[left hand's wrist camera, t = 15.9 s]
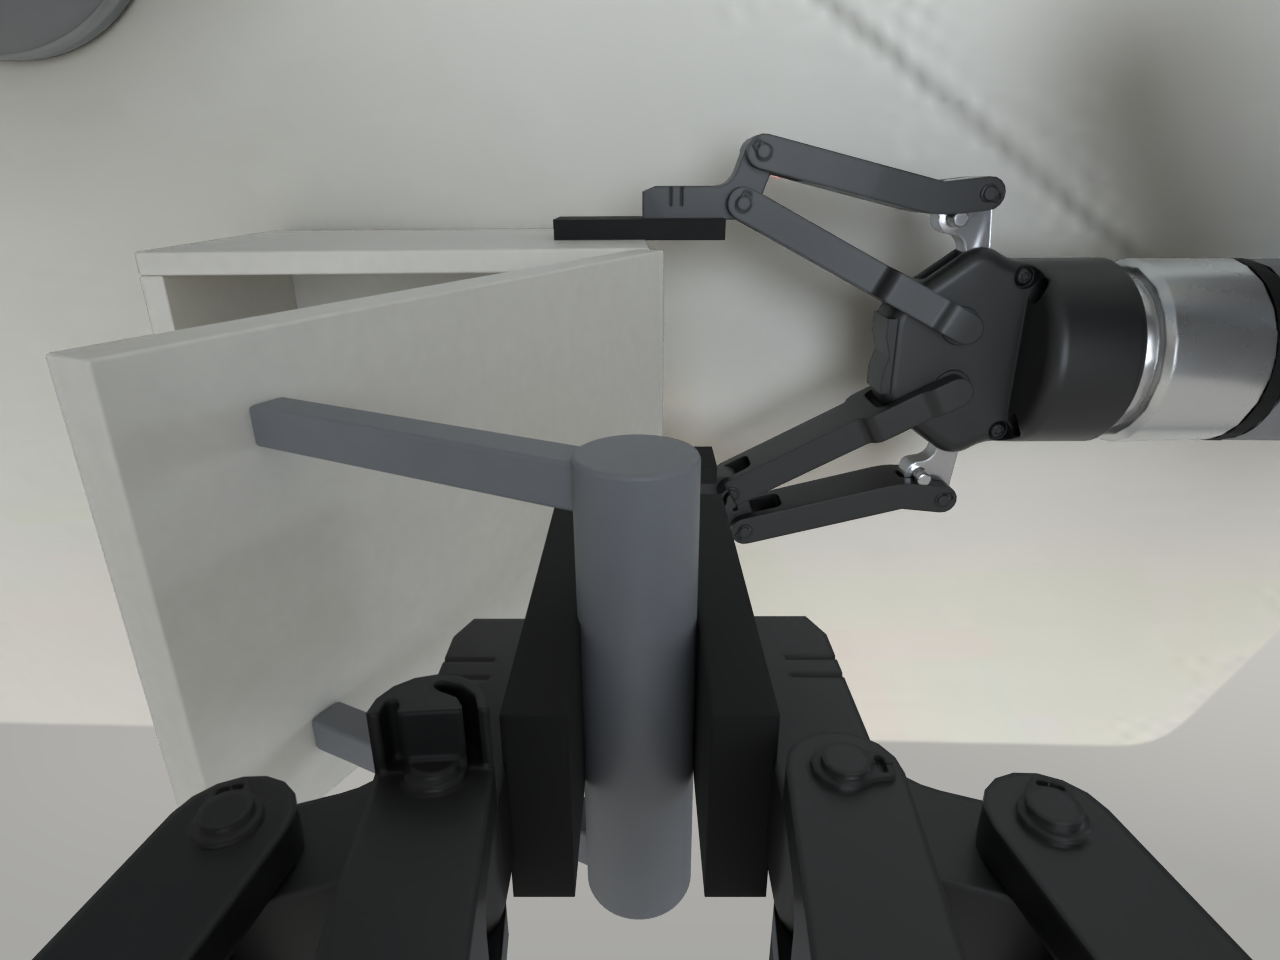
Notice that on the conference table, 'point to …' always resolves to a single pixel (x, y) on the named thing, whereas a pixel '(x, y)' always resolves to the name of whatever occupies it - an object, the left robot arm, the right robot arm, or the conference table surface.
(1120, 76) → the conference table surface
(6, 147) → the conference table surface
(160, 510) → the lid
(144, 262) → the chest
